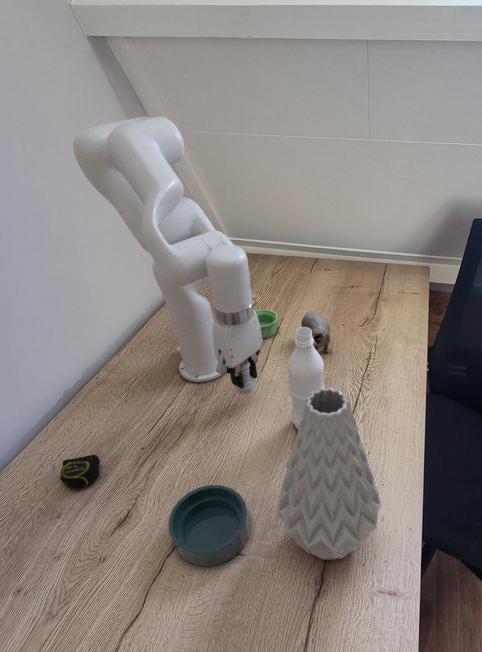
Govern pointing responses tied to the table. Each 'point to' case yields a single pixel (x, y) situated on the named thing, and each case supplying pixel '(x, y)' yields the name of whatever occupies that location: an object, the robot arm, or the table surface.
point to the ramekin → (267, 322)
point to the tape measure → (80, 471)
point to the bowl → (209, 525)
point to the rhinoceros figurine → (317, 329)
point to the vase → (328, 481)
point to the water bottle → (304, 372)
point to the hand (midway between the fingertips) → (244, 379)
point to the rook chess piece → (246, 379)
